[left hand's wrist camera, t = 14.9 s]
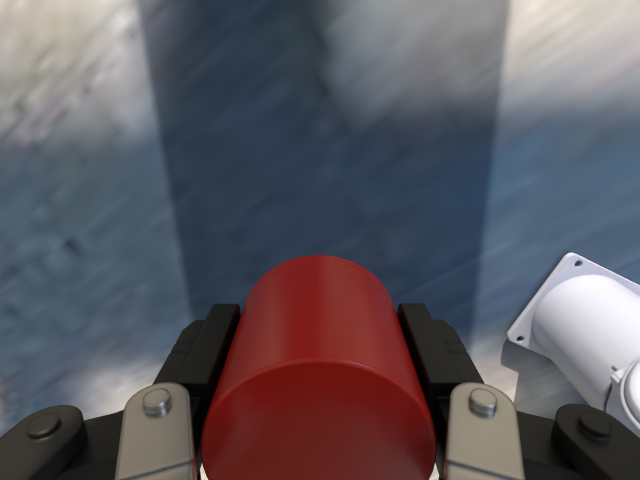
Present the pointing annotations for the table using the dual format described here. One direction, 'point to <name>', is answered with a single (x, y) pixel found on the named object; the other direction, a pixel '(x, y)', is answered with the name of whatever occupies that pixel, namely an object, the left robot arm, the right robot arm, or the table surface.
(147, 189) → the table surface
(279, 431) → the canister
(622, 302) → the right robot arm
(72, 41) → the table surface
